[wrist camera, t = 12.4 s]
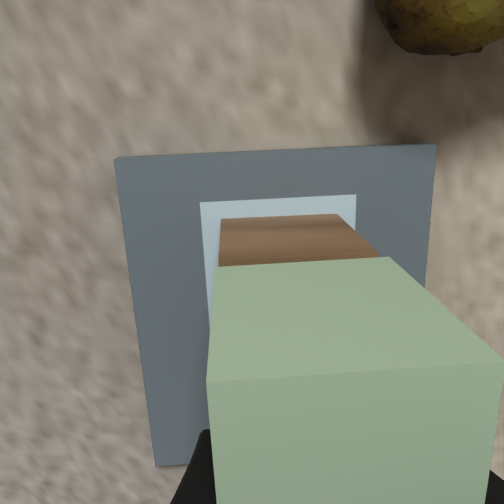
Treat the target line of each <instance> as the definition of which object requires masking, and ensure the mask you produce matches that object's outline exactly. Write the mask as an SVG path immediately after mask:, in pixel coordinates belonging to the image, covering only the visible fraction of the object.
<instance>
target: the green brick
mask: <svg viewBox="0 0 504 504" xmlns="http://www.w3.org/2000/svg"><path fill="white" fill-rule="evenodd" d="M503 381H504V359H503V358H502V357H501V356H500V355H498V354H497V353H496V352H495V351H494V350H493V349H492V348H491V347H490V346H488V345H487V344H486V343H485V342H484V341H483V340H482V339H481V338H479V337H478V336H477V335H476V334H475V333H474V332H473V331H472V330H471V329H469V328H468V327H467V326H466V325H465V324H464V323H463V322H462V321H461V320H459V319H458V318H457V317H456V316H455V315H454V314H453V313H452V312H450V311H449V310H448V309H447V308H446V307H445V306H444V305H443V304H442V303H440V302H439V301H438V300H437V299H436V298H435V297H434V296H433V295H431V294H430V293H429V292H428V291H427V290H426V289H425V288H424V287H423V286H421V285H420V284H419V283H418V282H417V281H416V280H415V279H414V278H413V277H411V276H410V275H409V274H408V273H407V272H406V271H405V270H404V269H402V268H401V267H400V266H399V265H398V264H397V263H396V262H395V261H394V260H392V259H391V258H390V257H375V258H358V259H342V260H325V261H308V262H291V263H274V264H258V265H241V266H224V267H215V273H214V286H213V299H212V312H211V325H210V338H209V351H208V363H207V376H206V388H207V399H208V411H209V422H210V433H211V444H212V456H213V467H214V478H215V490H216V501H217V504H485V498H486V491H487V485H488V478H489V472H490V465H491V459H492V452H493V446H494V439H495V433H496V426H497V420H498V413H499V407H500V400H501V394H502V387H503Z"/></svg>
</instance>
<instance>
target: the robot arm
mask: <svg viewBox="0 0 504 504" xmlns="http://www.w3.org/2000/svg"><path fill="white" fill-rule="evenodd" d="M170 504H217V501H216V490H215V478H214V467H213V456H212V444H211V433H210V429H204V430H203V431H202V432H201V433H200V434H199V438H198V441H197V444H196V447H195V450H194V453H193V455H192V458H191V460H190V463H189V465H188V467H187V470H186V472H185V474H184V476H183V478H182V480H181V483H180V485H179V487H178V489H177V491H176V493H175V495H174V497H173V499H172V501H171V503H170ZM485 504H504V480H502V479H501V478H500V477H499V476H497V475H496V474H495V473H493V472H492V471H491V470H490V472H489V478H488V485H487V491H486V498H485Z"/></svg>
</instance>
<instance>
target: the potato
mask: <svg viewBox="0 0 504 504" xmlns="http://www.w3.org/2000/svg"><path fill="white" fill-rule="evenodd" d="M374 1H375V6H376V10H377V12H378V15H379V16H380V18H381V20H382V22H383V24H384V25H385V27H386V29H387V30H388V32H389V34H390V35H391V37H392V39H393V40H394V42H395V43H396V44H397V45H399V46H400V47H401V48H403V49H404V50H405V51H407V52H409V53H411V52H413V53H417V54H421V55H450V56H456V55H460V54H465V53H469V52H470V53H477V52H480V51H482V48H483V46H484V45H486V44H489V43H491V42H493V41H495V40H497V39H499V38H501V37H503V36H504V0H374Z"/></svg>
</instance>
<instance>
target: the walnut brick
mask: <svg viewBox="0 0 504 504" xmlns="http://www.w3.org/2000/svg"><path fill="white" fill-rule="evenodd" d="M375 257H379V253H378V252H377V251H376V250H375V249H374V248H373V247H372V246H371V245H370V244H369V243H368V242H367V241H366V240H364V239H363V238H362V237H361V236H360V235H359V234H358V233H357V232H356V231H355V230H354V229H353V228H352V227H351V226H350V225H348V224H347V223H346V222H345V221H344V220H343V219H342V218H341V217H340V216H339V215H338V214H316V215H294V216H271V217H249V218H226V219H221V225H220V241H219V257H218V265H219V267H224V266H241V265H258V264H274V263H291V262H308V261H325V260H342V259H358V258H375Z"/></svg>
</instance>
